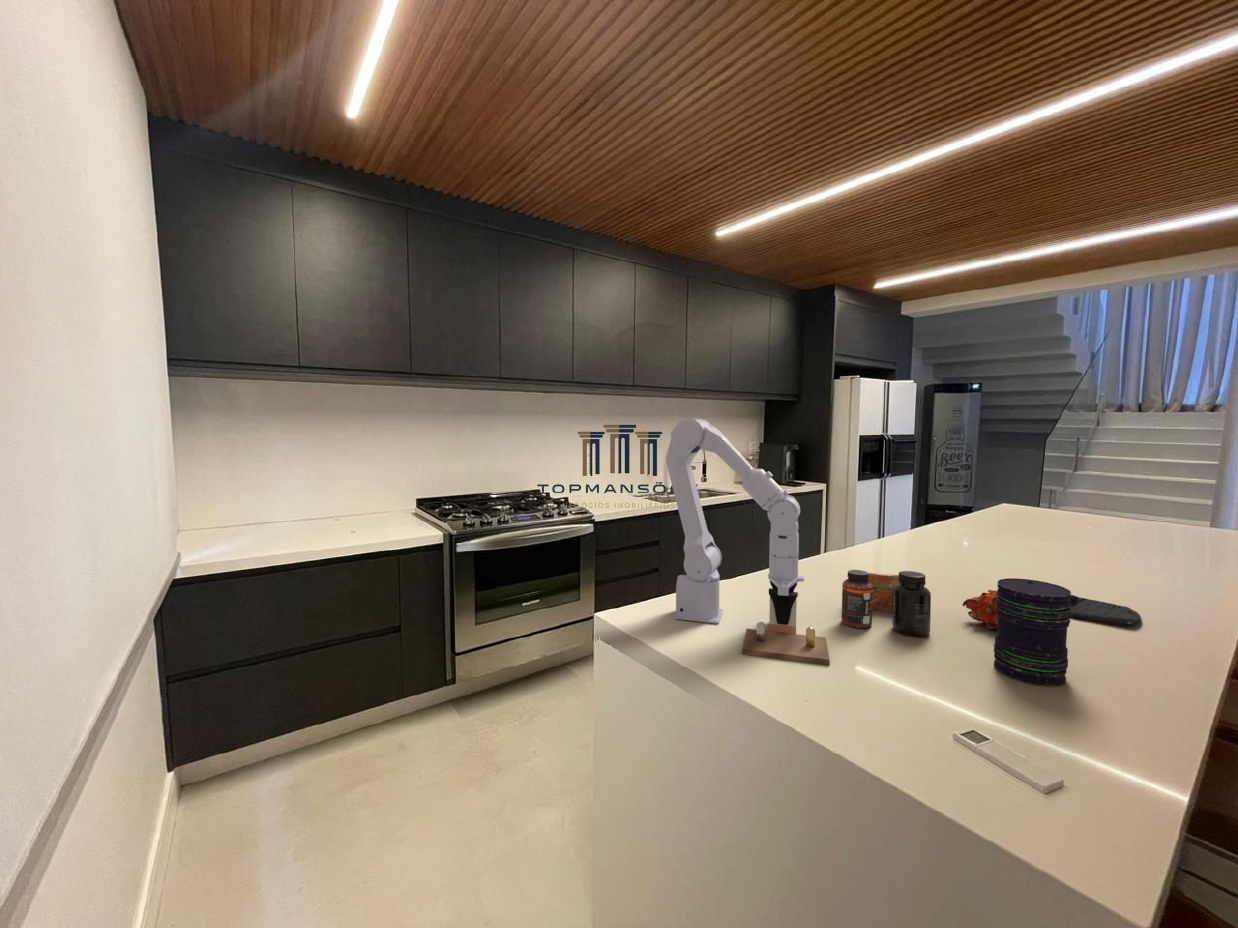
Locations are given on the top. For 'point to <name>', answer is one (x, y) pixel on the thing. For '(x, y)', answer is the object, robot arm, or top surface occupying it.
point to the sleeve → (780, 627)
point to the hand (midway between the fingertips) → (782, 618)
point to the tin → (883, 591)
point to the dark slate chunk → (1102, 612)
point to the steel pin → (760, 632)
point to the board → (786, 647)
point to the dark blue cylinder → (1032, 631)
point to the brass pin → (810, 637)
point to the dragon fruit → (984, 608)
